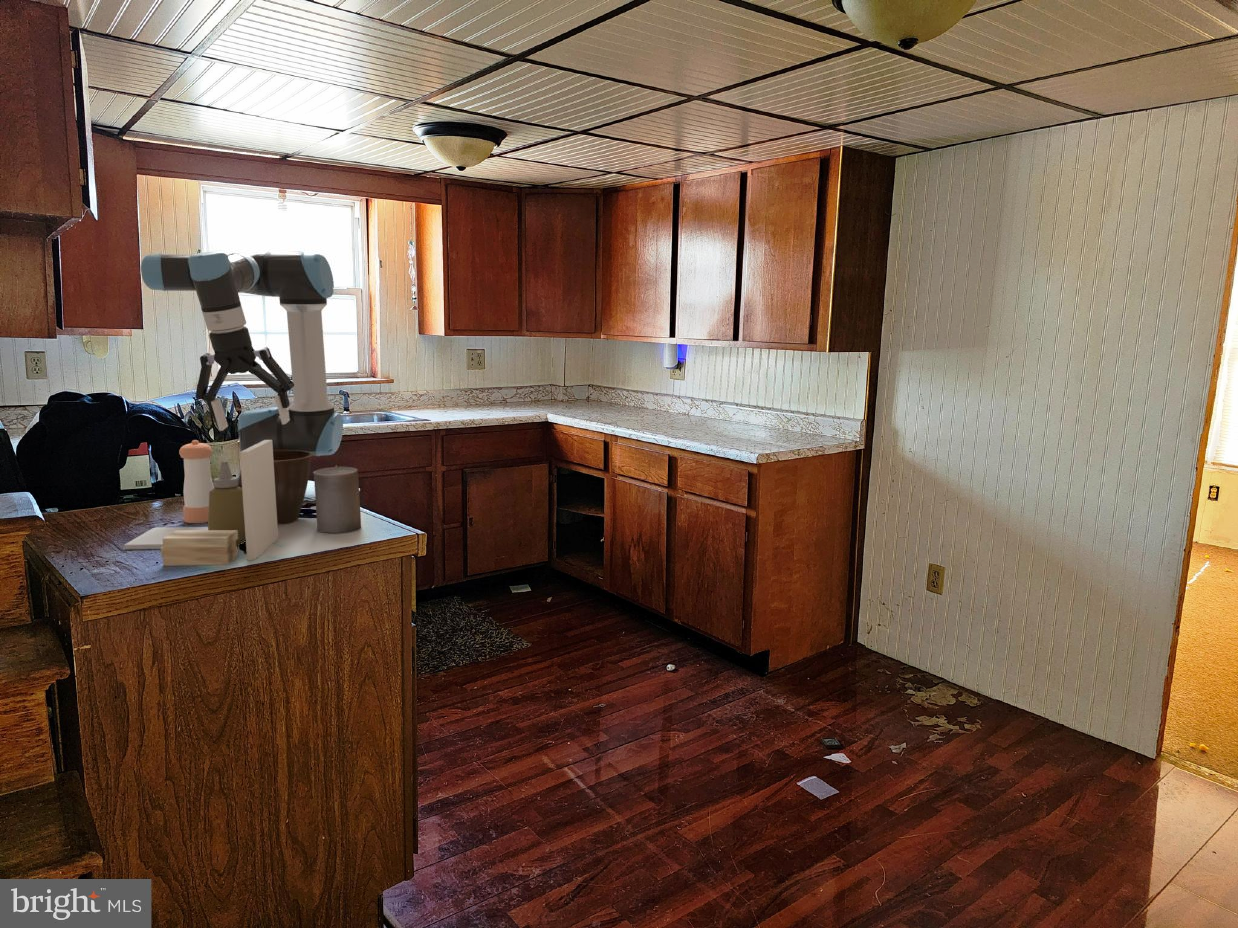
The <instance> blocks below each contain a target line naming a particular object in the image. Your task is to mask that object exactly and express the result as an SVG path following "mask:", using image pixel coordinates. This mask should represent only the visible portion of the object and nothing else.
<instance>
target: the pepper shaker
mask: <svg viewBox="0 0 1238 928" xmlns="http://www.w3.org/2000/svg"><path fill="white" fill-rule="evenodd" d="M178 451H179V452H178V453H179V455H180V458H182V459H183V469H184V470H183V471H184V482H183V491H182V493H183V500H184V504H183V507H182V512H183V521H184V522H185V523H188V524H203V523H208V517H209V492H210V491H211V490H212V489H213V488H215V487H214V482H213V477H212V473H211V461H210V457H211V456H212V455H213V452H214V451H213V449H212V447H211V446H210V444H207V443H204V442H200V441H199V440H197V439H193V440H192V441H191V443H187V444H184V445H182V446H181V447H180V449H179V450H178Z"/></svg>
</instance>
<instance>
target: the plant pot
mask: <svg viewBox="0 0 1238 928" xmlns="http://www.w3.org/2000/svg"><path fill="white" fill-rule="evenodd" d="M273 461H274V477H275V494H276V510H277V525H284V524H285V525H286V524H289V523H294V522H296V521H298V519H299V515H300V513H301V509H302V507H303V503H304V499H305V496H306V492H307V487H308V483H309V477H310V472H311V464H312V463H311V462H312V455H311V453H310V452H307V451H300V450H273Z"/></svg>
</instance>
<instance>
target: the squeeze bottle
mask: <svg viewBox="0 0 1238 928" xmlns="http://www.w3.org/2000/svg"><path fill="white" fill-rule="evenodd" d="M212 482H213V486H214V488H213V489H212V490H211V491H210V492H209V517H208V522H207V524H208V526H207V527H208V530H238V539H237V540H236V547H237V546H240V544H241V543H243V542H244V541H245V540H246V536H245V521H244V507H243V492H242V488H240V487H238V486H237V485H238V476H233V475H232V472H231V469H230V465H229V461H227V460H223V461H221V462H220V467H219V473H218V477H215V478H213V479H212ZM245 542H246V541H245ZM243 544H244V543H243ZM241 545H242V544H241Z"/></svg>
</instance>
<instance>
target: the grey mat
mask: <svg viewBox="0 0 1238 928" xmlns="http://www.w3.org/2000/svg"><path fill="white" fill-rule="evenodd" d="M176 530H208V526H177V527H175V526H174V527H173V526H172V527H170V526H169V527H168V526H166V527H165V526H163V527H162V526H161V527H159V526H158V527H153V528H151V529H148V530H147V531H145V532H144V533H142V534H141V535H139V536H137V537H134V539H132V540H130V541H128V542H126V543H125V544H124V550H161V548H162V547H163V540H162V538H164V537H166V536H168V535H169V534H171V533H173V532H174V531H176Z"/></svg>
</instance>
